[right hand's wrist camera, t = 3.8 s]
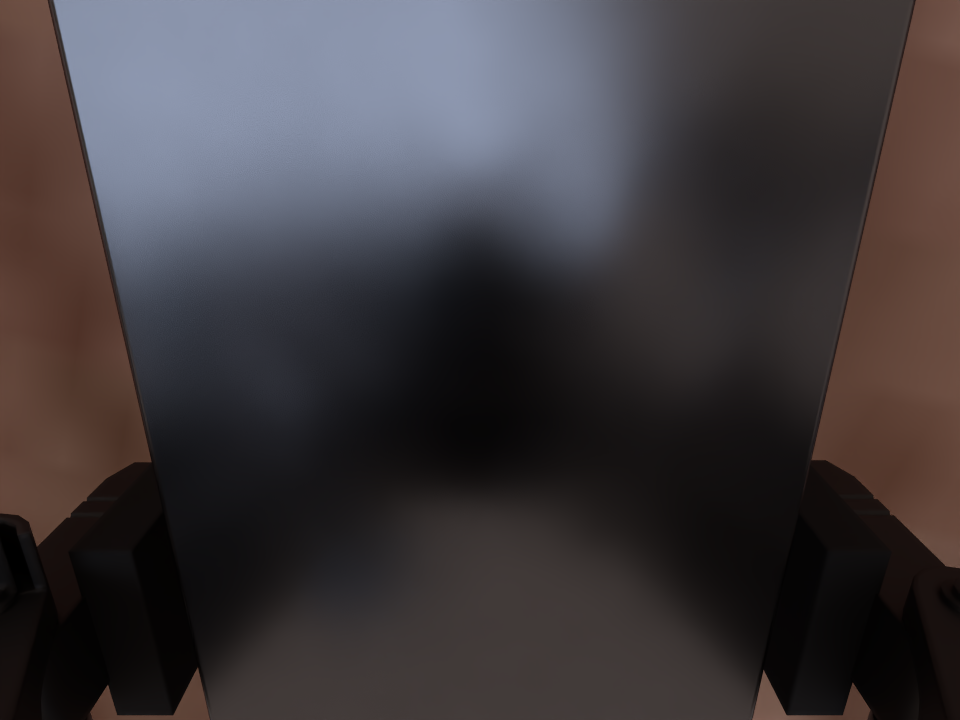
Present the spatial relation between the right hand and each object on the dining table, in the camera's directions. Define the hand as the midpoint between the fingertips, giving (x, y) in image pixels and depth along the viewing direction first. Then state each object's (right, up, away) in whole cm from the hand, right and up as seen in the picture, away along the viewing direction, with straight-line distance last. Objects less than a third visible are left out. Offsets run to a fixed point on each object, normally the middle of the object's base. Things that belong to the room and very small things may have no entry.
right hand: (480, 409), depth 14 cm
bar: (0, +8, -2) cm, 8 cm away
